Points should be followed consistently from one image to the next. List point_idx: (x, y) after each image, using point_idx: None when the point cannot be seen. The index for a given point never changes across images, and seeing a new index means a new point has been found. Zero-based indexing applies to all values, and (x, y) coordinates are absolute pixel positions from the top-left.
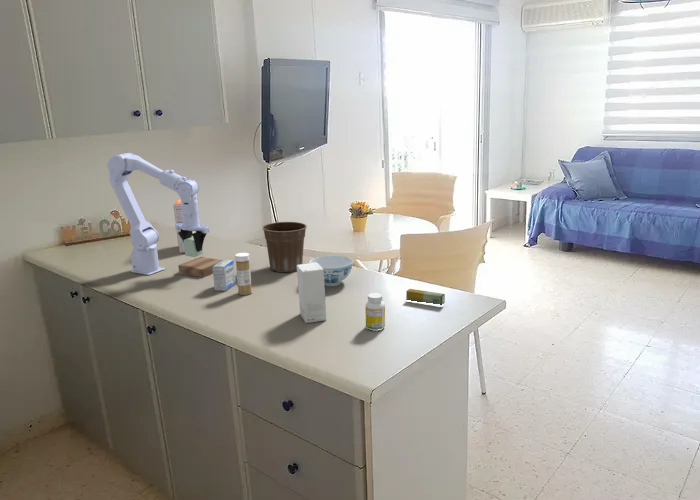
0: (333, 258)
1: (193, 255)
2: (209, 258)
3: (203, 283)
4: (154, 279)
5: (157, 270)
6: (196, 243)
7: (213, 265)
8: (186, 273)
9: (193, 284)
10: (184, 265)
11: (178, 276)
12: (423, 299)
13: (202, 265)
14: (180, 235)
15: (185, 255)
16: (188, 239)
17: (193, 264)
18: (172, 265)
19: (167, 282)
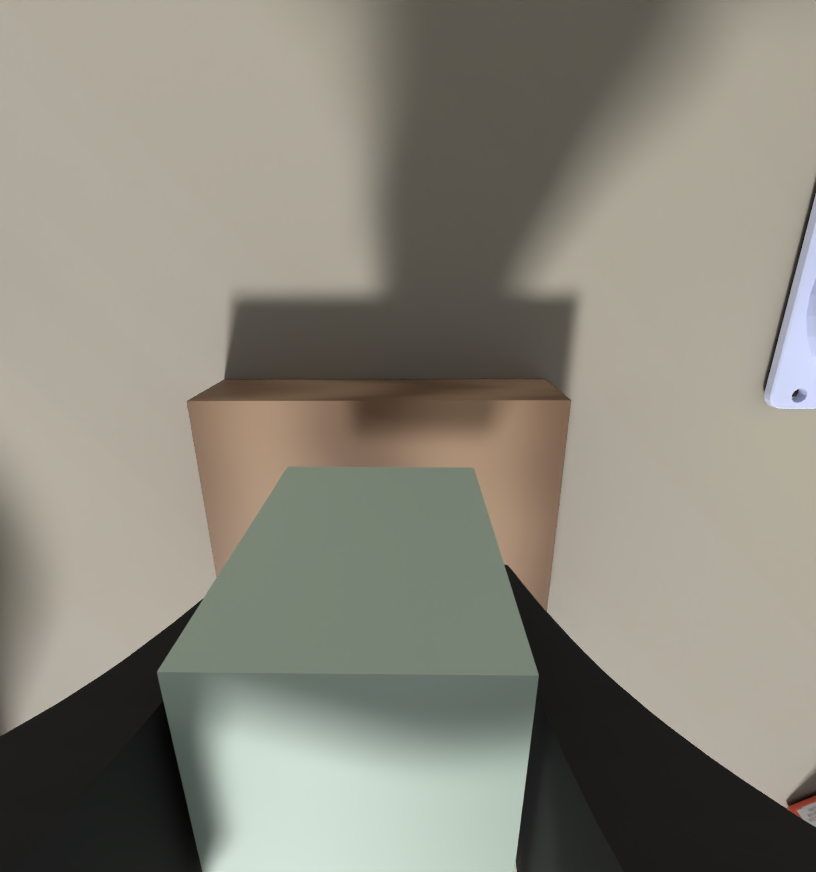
0: None
1: (299, 477)
2: None
3: (73, 230)
4: (667, 81)
5: (804, 312)
6: (144, 660)
7: (214, 550)
8: (446, 381)
9: (132, 152)
10: (495, 425)
11: (478, 294)
12: None
13: None
14: (753, 827)
15: (470, 469)
16: (426, 744)
17: None
18: (760, 524)
19: (444, 64)
